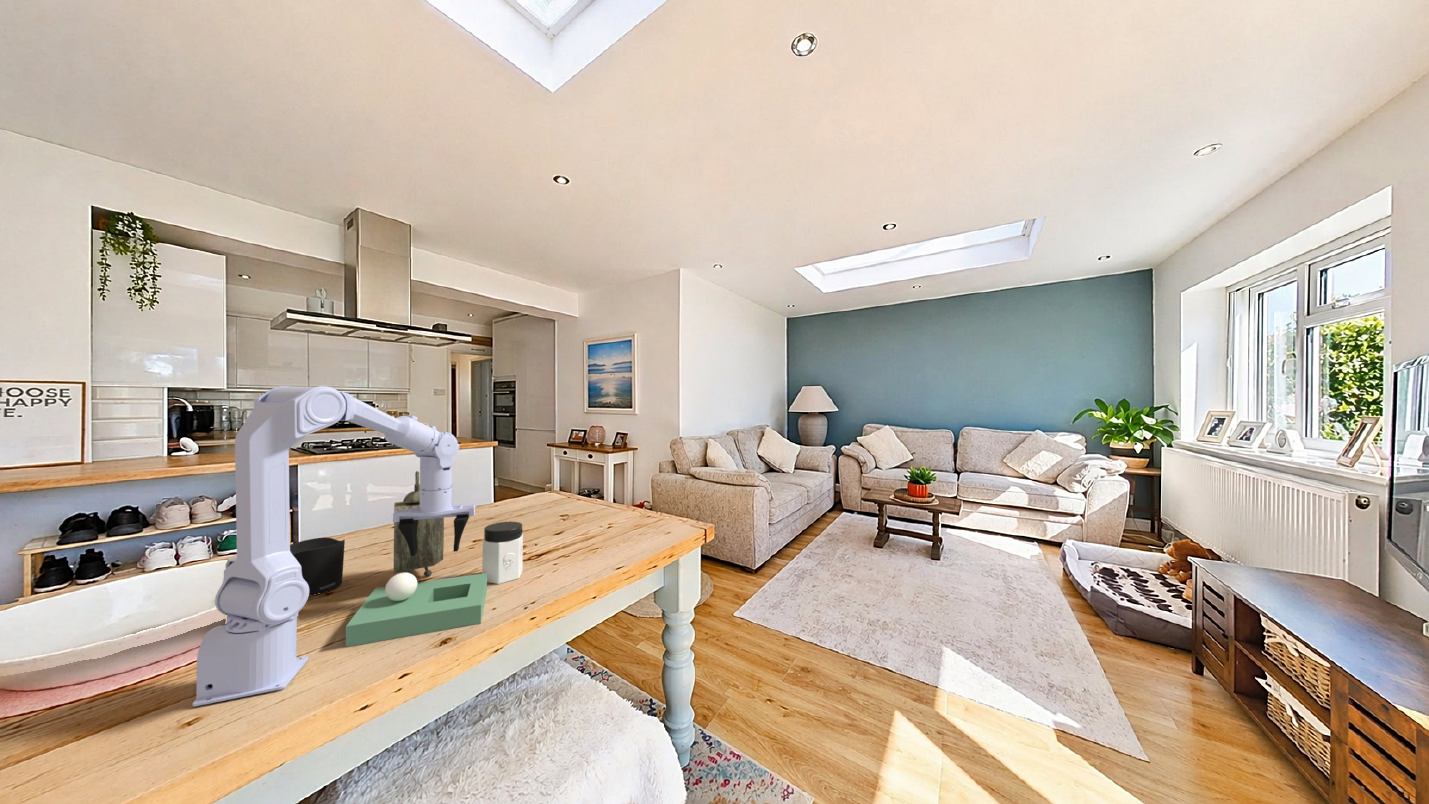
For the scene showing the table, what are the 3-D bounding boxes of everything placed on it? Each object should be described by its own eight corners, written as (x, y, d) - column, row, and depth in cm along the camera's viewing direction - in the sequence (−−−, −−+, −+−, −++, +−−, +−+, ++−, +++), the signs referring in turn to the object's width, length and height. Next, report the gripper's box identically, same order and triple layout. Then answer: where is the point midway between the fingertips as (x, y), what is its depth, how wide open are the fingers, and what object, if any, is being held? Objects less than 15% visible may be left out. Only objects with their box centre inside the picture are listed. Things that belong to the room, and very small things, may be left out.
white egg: (381, 608, 78) (381, 580, 78) (388, 596, 83) (389, 570, 83) (414, 603, 81) (414, 576, 81) (419, 592, 85) (420, 567, 85)
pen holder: (279, 603, 87) (280, 553, 87) (292, 586, 95) (292, 541, 95) (340, 592, 92) (340, 546, 92) (347, 577, 100) (348, 534, 100)
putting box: (345, 647, 72) (346, 626, 72) (375, 605, 87) (375, 588, 87) (480, 623, 80) (480, 604, 80) (486, 588, 95) (487, 573, 95)
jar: (487, 587, 96) (488, 534, 96) (477, 576, 101) (477, 526, 101) (528, 576, 102) (529, 526, 102) (516, 566, 108) (517, 519, 108)
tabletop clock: (393, 573, 103) (394, 468, 103) (438, 564, 108) (439, 466, 108) (393, 595, 91) (395, 478, 91) (443, 585, 97) (445, 474, 97)
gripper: (477, 482, 97) (476, 542, 97) (400, 486, 92) (399, 550, 92) (473, 488, 91) (472, 552, 91) (390, 493, 85) (389, 561, 85)
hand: (435, 552), depth 91 cm, fingers open, 7 cm apart
